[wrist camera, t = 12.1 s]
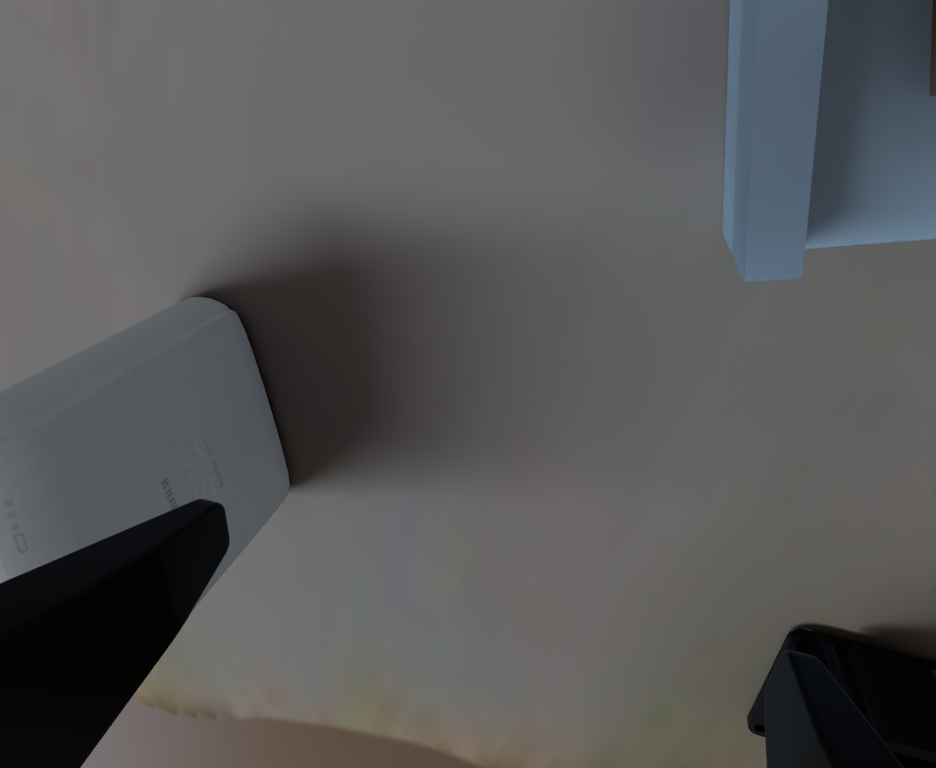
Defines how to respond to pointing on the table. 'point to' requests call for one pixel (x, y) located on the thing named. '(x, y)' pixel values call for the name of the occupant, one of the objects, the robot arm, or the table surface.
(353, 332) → the table surface
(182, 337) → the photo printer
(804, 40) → the picture shelf
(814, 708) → the robot arm
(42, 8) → the table surface
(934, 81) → the frame block
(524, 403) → the table surface
